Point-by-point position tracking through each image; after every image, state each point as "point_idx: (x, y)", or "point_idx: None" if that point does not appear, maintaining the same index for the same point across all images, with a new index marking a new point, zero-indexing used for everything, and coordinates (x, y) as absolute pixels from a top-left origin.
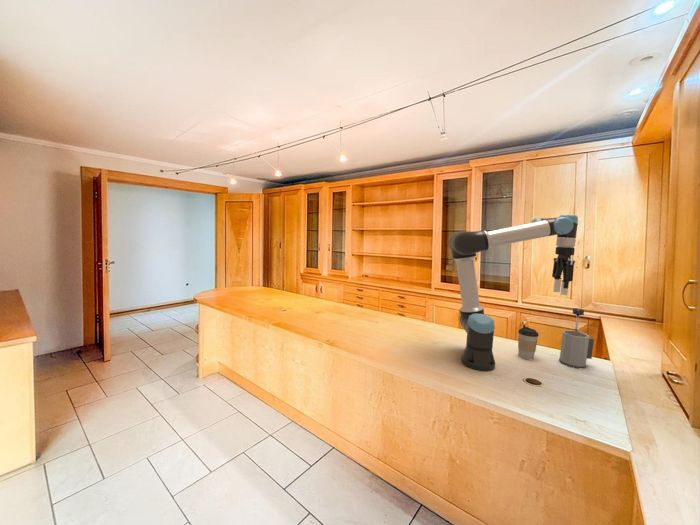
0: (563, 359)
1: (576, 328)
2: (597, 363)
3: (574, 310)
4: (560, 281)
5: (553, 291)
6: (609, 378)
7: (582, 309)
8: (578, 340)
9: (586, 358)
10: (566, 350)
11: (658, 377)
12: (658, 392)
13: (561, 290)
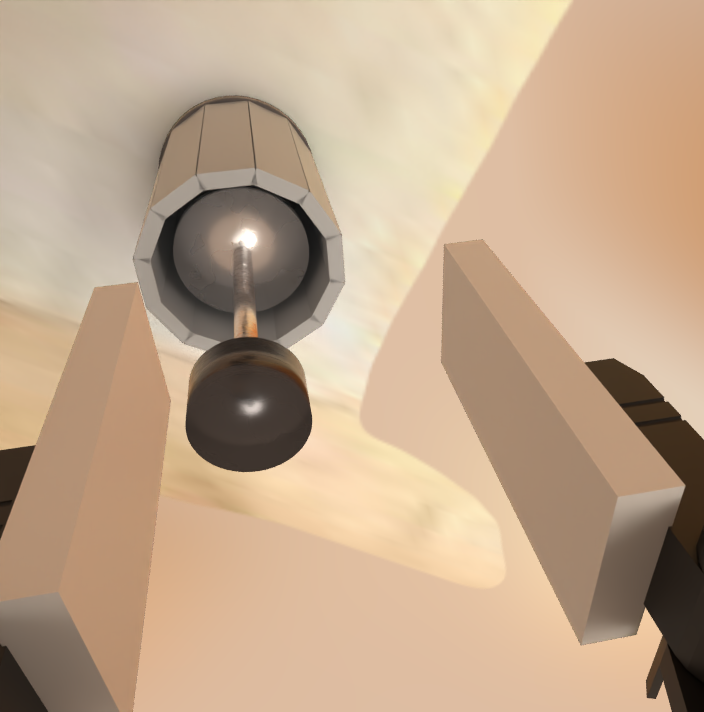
0: (202, 111)
1: (235, 295)
2: None
3: (222, 369)
4: (552, 572)
5: (478, 243)
6: (75, 297)
7: (256, 461)
8: (137, 242)
9: None
10: (186, 140)
11: (209, 506)
12: (3, 436)
13: (91, 347)
